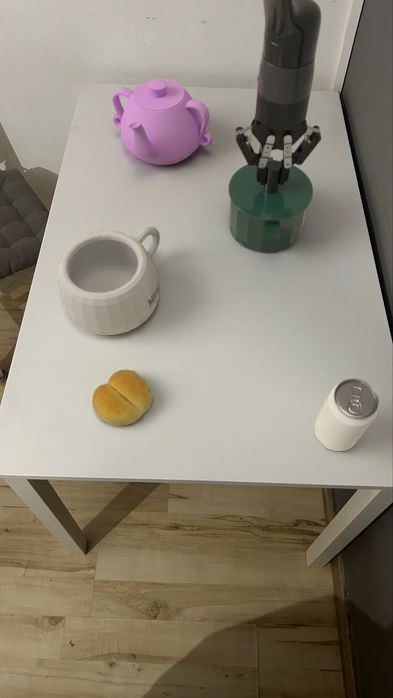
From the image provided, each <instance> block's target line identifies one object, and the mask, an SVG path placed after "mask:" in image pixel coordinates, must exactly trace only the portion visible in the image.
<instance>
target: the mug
mask: <svg viewBox="0 0 393 698" xmlns="http://www.w3.org/2000/svg"><path fill="white" fill-rule="evenodd" d="M149 236H151V243H150V245H149V248H148V249H146V248H145V246H144V245H143V242H144V241H145V240H146V238H147V237H149ZM160 241H161V234H160V232H159V230H158V229H157V228H156V227H155V226H146V227H144V228H143V229H142V230H140V231H139V232H138V233H137V235H136V236H135V237H133V236H131V235H129V234H126V233H124V232H122V231H115V230H99V231H95V232H91V233H87V234H85V235H83V236H81V237H79V238H78V239H76V240H74V242H72V243H71V244H70V245H69V246H68V247H67V249H66V250H65V251H64V252H63V254H62V256H61V258H60V260H59V262H58V268H57V273H56V280H57V287H58V288H57V289H58V293H59V298H60V302H61V304H62V305H61V306H62V307H63V309H64V311H65V313H66V315H67V316H68V318H70V319H71V321H72V322H73V323H75V325H77V326H78V327H79V328H80V329H82V330H84V331H86V332H89V333H91V334H96V335H99V336H117V335H121V334H125V333H128V332H130V331H133V330H134V329H136V328H138V327H140V326H141V325H142V324H144V322H146V321H147V320H149V318H150V317H151V315H153V313H154V311H155V310H156V308H157V305H158V302H159V299H160V288H161V287H160V286H161V285H160V284H161V283H160V279H159V276H158V275H159V274H158V273H157V269H156V265H155V263H154V261H153V257H154V256H155V254H156V252H157V250H158V249H159V245H160Z"/></svg>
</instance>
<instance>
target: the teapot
mask: <svg viewBox="0 0 393 698" xmlns="http://www.w3.org/2000/svg"><path fill="white" fill-rule="evenodd" d="M120 96H123V97H125V98H127V99H128V100H127V102H126V105H125V107H123V105H122V102H121V98H120ZM111 100H112V106H113V107H114V110H115V112H116V113H115V114H114V115H113V117H112V122H113V124H114V126H116V128H118V129H120V136H121V142H122V144H123V146H124V148H125V149H126V150H127V152H128V153H130V154H131V155H132V156H133V157H135V158H136V159H138V160H140V161H142V162H144V163H146V164H149V165H155V166H168V165H174V164H178V163H180V162H182V161H183V160H186V159H187V158H188V157H190V156H191V155H192V154H193V153H194V152H195V151H196V150H197V149H198V148H199V147H200V145H201V146H202V147H208V146H211V145H212V143H213V142H214V136H213V134H212V133H211V132H209V131H207V128H208V125H209V121H210V110H209V108H208V106H207V105H206V104H205V103H203V102H202V101H200V100H197V99H193V97H192V96H191V94H190V93H189V92H188V90H186V88H185V87H184V86H183V85H182V84H181V83H179V82H178V81H175V80H173V79H169V78H152V79H148V80H146V81H144V82H142V83H140V84H139V85H138V86H137V87H135V89H134V90H133V89H131V88H129V87H125V86H121V87H118V88H116V89H115V90H114V92H113V93H112V96H111Z"/></svg>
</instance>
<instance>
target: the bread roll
mask: <svg viewBox="0 0 393 698" xmlns="http://www.w3.org/2000/svg"><path fill="white" fill-rule="evenodd" d="M91 400H92V401H91V402H92V407H93V411H94V413H95V415H96V417H97V418H98V419H99V420H100V421H102V422H103V423H105V424H108V425H110V426H115V427H124V426H129V425H131V424H133V423H135V422H137V421H139V420H140V419H141V418H142V416H144V414H145V413H147V412H148V410H149V409H150V407H151V405H152V403H153V400H154V394H153V390H152V388H151V387H150V386H149V384H148V382H147V381H146V380H145V379H144V378H143V377H142V376H141V375H140V374H139V373H138V372H137V371H136V370H130V369H120V370H117V371H115V372H114V373H112V374H111V376H110V377H109V378H108V381H107V383H104V384H103V383H102V384H100V385H99V386H97V387H96V388H95V390H94V392H93V394H92V399H91Z"/></svg>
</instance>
